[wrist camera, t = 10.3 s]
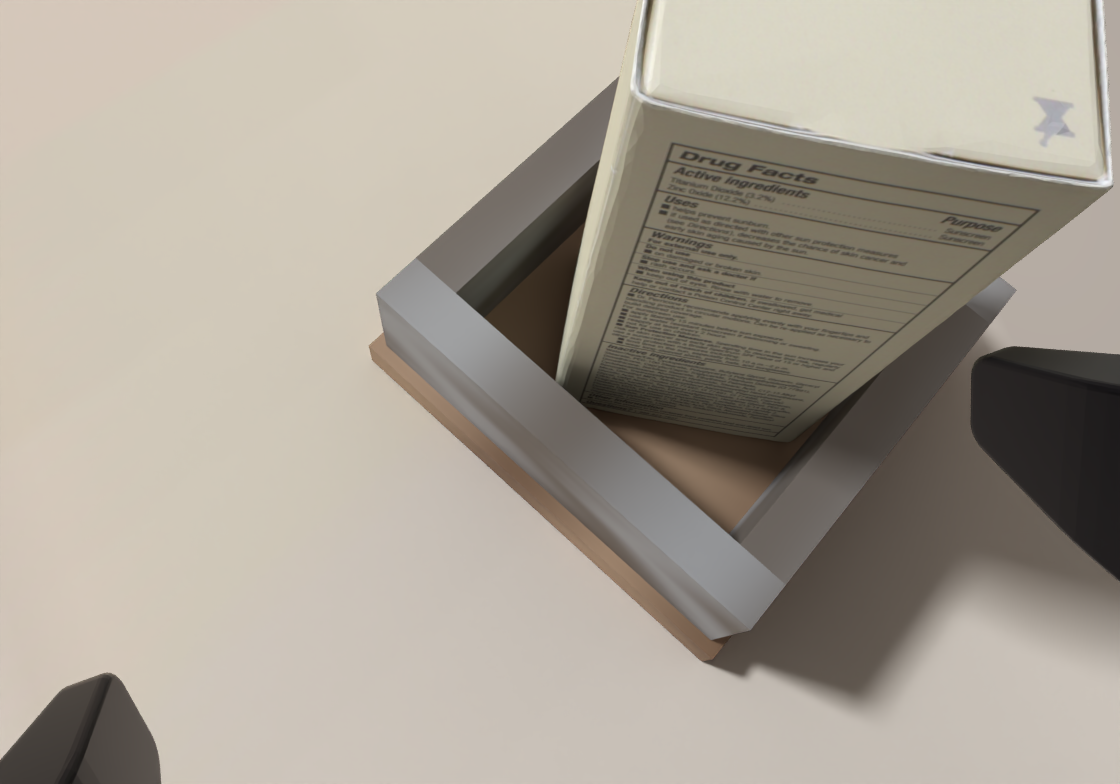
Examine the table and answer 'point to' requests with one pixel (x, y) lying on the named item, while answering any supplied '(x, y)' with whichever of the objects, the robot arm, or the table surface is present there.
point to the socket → (621, 440)
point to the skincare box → (820, 194)
